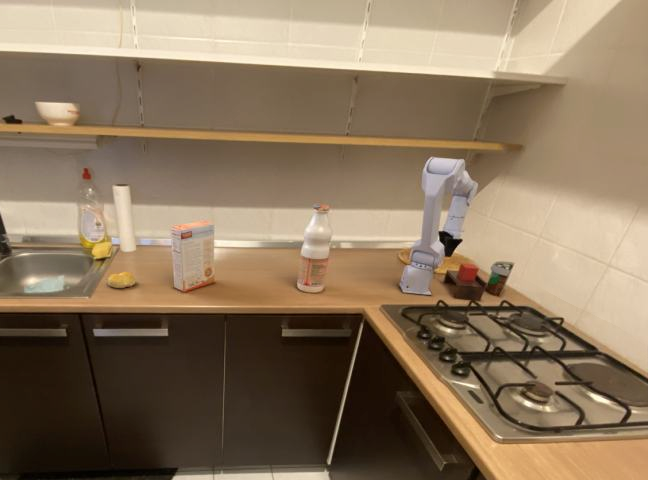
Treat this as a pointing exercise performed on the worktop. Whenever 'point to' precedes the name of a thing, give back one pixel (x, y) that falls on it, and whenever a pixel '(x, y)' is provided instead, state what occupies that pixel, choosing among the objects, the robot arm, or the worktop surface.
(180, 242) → the cracker box
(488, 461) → the worktop surface
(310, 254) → the fruit juice
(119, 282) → the bread roll
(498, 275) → the food container
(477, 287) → the dark brown storage bin
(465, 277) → the block
